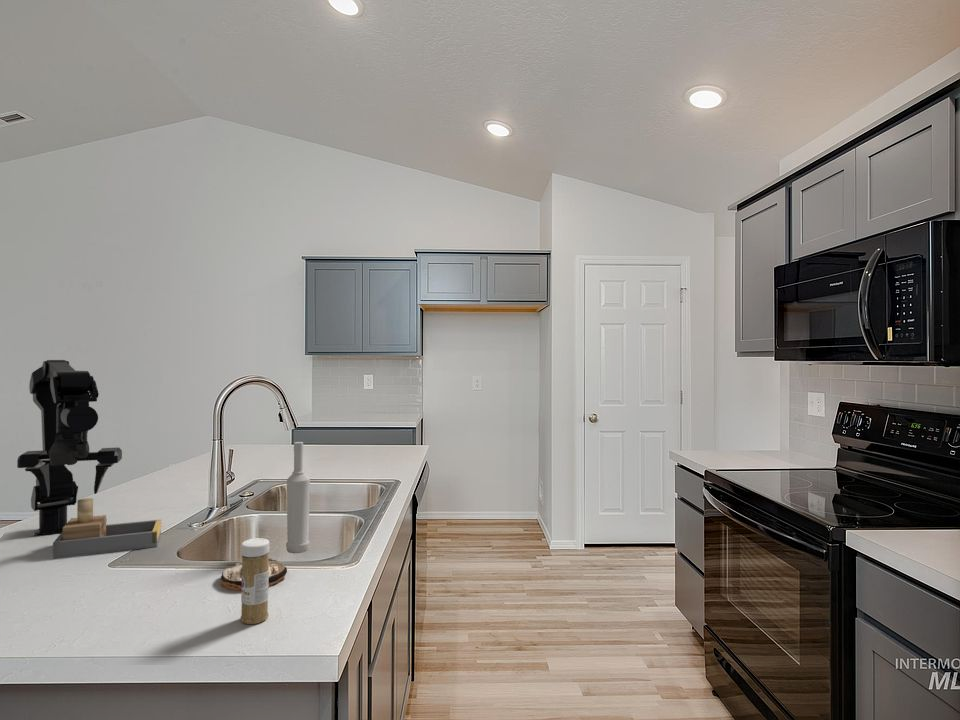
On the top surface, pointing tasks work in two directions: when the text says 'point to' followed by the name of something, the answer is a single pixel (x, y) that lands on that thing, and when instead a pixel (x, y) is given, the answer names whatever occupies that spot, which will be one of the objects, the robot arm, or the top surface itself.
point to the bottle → (298, 505)
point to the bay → (111, 540)
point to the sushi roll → (234, 575)
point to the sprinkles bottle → (254, 580)
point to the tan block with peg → (85, 522)
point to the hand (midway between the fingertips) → (71, 495)
